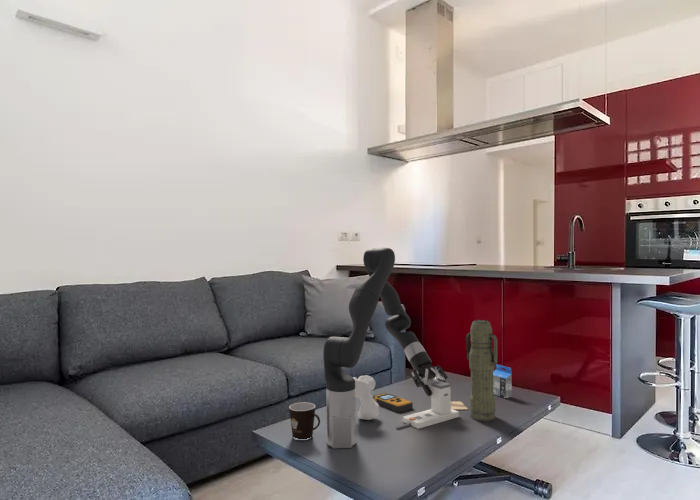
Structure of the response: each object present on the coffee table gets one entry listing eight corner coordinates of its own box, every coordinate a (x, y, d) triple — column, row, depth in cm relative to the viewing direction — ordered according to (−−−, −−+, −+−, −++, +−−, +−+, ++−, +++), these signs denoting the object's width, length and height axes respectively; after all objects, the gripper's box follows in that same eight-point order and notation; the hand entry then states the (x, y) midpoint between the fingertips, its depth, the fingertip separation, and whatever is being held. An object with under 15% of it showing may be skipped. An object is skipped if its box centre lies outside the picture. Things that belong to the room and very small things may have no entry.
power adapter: (451, 417, 163) (450, 384, 163) (441, 420, 160) (440, 386, 160) (441, 413, 167) (440, 381, 167) (431, 415, 164) (430, 383, 164)
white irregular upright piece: (370, 426, 155) (370, 382, 155) (343, 420, 161) (343, 378, 161) (383, 417, 163) (383, 376, 163) (357, 412, 169) (357, 372, 169)
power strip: (458, 416, 163) (458, 410, 163) (404, 432, 149) (404, 425, 149) (443, 410, 170) (443, 404, 170) (389, 425, 155) (389, 418, 155)
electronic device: (398, 414, 168) (398, 405, 168) (371, 403, 180) (371, 395, 180) (414, 409, 173) (414, 401, 173) (387, 399, 185) (387, 391, 185)
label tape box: (489, 393, 190) (489, 364, 191) (496, 392, 192) (495, 363, 193) (505, 399, 183) (505, 369, 183) (512, 397, 185) (512, 367, 185)
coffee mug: (286, 434, 148) (286, 404, 148) (311, 430, 152) (310, 400, 152) (296, 448, 137) (295, 415, 138) (322, 443, 141) (322, 411, 141)
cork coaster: (467, 409, 170) (467, 408, 170) (444, 410, 170) (444, 409, 170) (460, 402, 179) (460, 401, 179) (438, 402, 179) (438, 401, 179)
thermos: (472, 410, 170) (470, 318, 170) (502, 417, 162) (501, 320, 163) (462, 417, 163) (460, 320, 163) (493, 424, 155) (492, 323, 156)
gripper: (408, 353, 168) (430, 391, 158) (435, 348, 176) (458, 384, 166) (399, 364, 172) (420, 402, 163) (426, 359, 180) (447, 395, 171)
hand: (439, 393), depth 164 cm, fingers open, 8 cm apart
